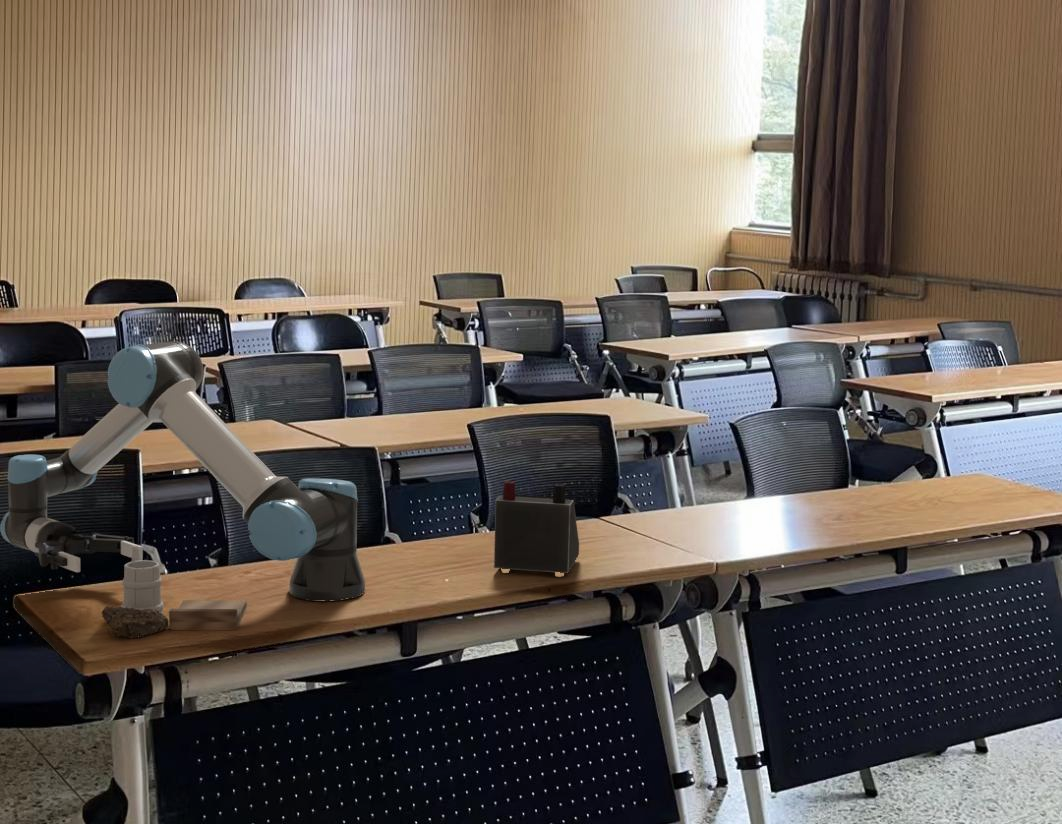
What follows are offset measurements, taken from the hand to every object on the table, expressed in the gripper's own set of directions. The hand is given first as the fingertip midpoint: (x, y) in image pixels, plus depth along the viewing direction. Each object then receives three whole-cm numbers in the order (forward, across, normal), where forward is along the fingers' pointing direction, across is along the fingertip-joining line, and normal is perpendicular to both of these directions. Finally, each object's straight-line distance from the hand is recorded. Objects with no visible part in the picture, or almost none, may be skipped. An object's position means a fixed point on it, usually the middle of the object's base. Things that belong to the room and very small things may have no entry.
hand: (110, 559), depth 266 cm
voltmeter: (+40, -81, -8) cm, 90 cm away
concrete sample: (+20, +7, -9) cm, 23 cm away
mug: (+10, 0, -9) cm, 13 cm away
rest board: (+22, -7, -8) cm, 25 cm away
